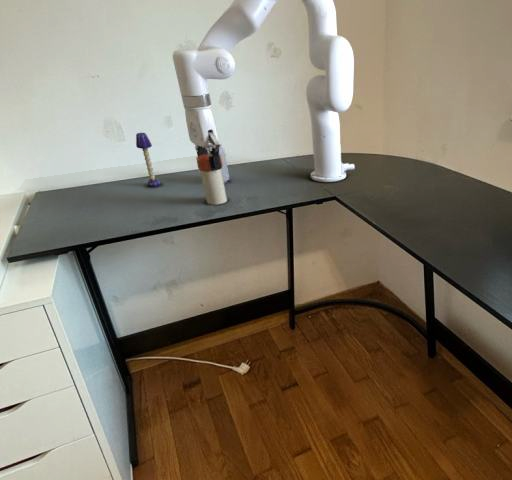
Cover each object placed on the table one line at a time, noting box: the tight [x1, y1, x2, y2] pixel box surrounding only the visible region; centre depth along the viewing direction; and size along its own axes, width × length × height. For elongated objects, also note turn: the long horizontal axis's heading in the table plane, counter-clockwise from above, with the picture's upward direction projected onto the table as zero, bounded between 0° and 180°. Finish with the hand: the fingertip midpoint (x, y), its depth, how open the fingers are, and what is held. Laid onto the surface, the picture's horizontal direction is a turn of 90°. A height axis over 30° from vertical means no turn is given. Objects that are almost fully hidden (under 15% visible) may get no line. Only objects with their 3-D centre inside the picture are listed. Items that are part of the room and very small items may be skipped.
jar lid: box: [195, 154, 223, 171], centre depth 140 cm, size 7×7×3 cm
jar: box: [199, 169, 228, 206], centre depth 144 cm, size 6×6×13 cm
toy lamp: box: [135, 132, 162, 188], centre depth 155 cm, size 5×5×17 cm
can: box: [205, 143, 230, 184], centre depth 160 cm, size 8×8×12 cm
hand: (210, 166), depth 141 cm, fingers closed on jar lid, 7 cm apart
